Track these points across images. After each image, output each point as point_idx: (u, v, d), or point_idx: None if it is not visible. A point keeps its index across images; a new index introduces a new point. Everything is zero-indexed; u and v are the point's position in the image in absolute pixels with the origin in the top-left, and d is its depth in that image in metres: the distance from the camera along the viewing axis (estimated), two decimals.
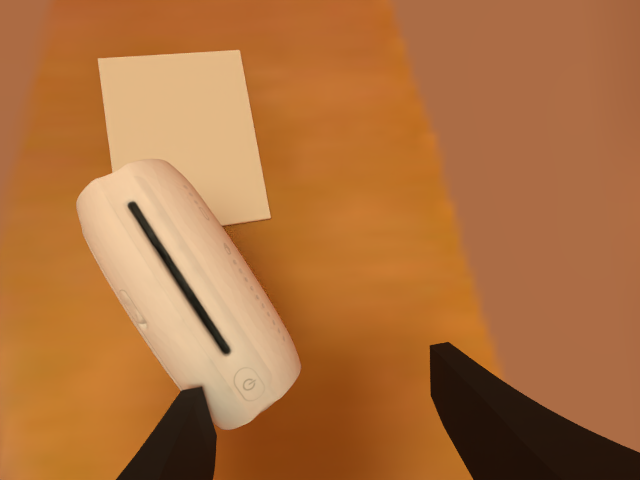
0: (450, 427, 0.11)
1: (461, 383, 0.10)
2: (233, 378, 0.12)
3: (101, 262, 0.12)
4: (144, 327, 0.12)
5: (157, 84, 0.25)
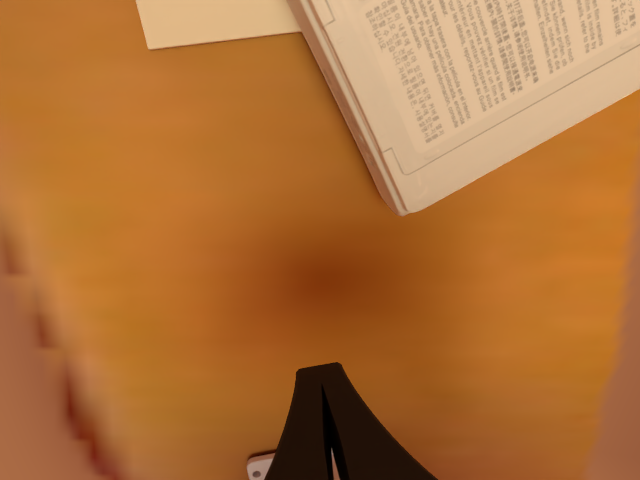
0: (333, 450, 0.11)
1: (329, 408, 0.10)
2: None
3: None
4: None
5: None
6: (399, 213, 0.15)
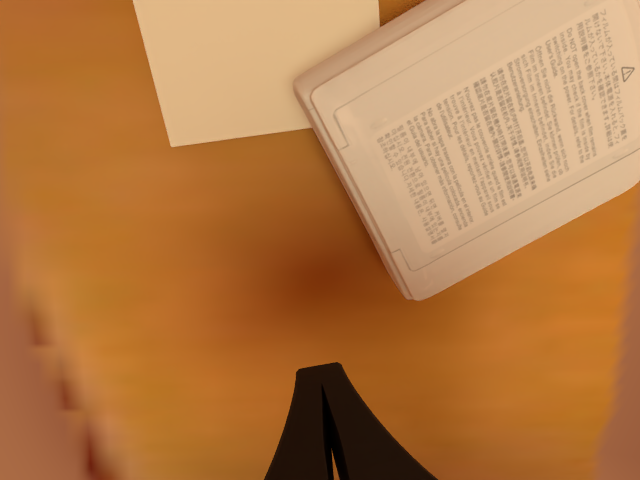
0: (333, 450, 0.11)
1: (329, 409, 0.10)
2: None
3: None
4: None
5: None
6: (406, 298, 0.16)
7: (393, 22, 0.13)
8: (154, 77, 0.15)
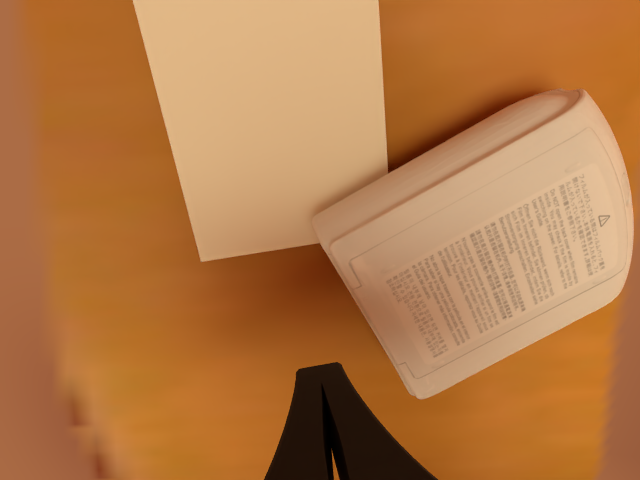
0: (333, 450, 0.11)
1: (329, 408, 0.10)
2: None
3: (612, 153, 0.14)
4: (625, 205, 0.15)
5: (228, 7, 0.14)
6: (410, 393, 0.18)
7: (400, 177, 0.15)
8: (188, 207, 0.17)
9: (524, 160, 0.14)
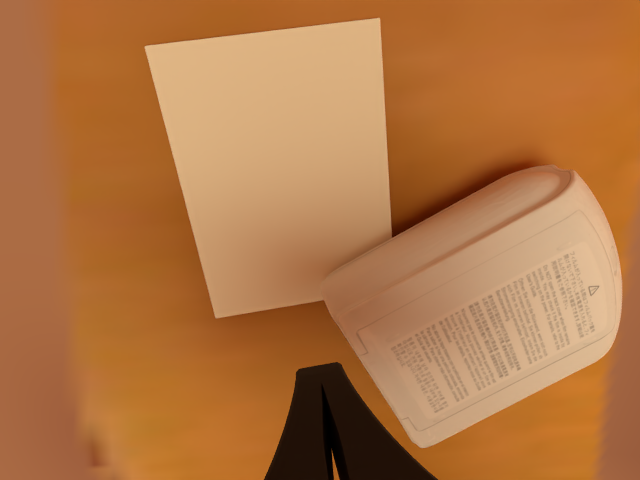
0: (333, 450, 0.11)
1: (329, 408, 0.10)
2: None
3: (600, 230, 0.15)
4: (614, 274, 0.16)
5: (244, 95, 0.15)
6: (412, 441, 0.19)
7: (404, 251, 0.16)
8: (204, 270, 0.18)
9: (519, 240, 0.15)
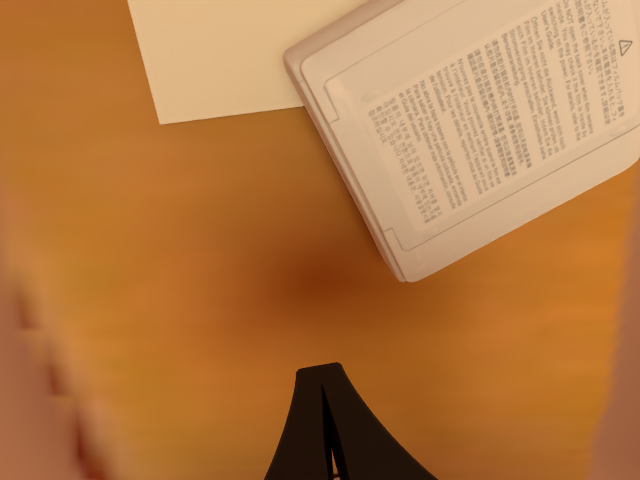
0: (333, 450, 0.11)
1: (329, 408, 0.10)
2: None
3: None
4: None
5: None
6: (399, 280, 0.16)
7: None
8: (142, 51, 0.14)
9: None
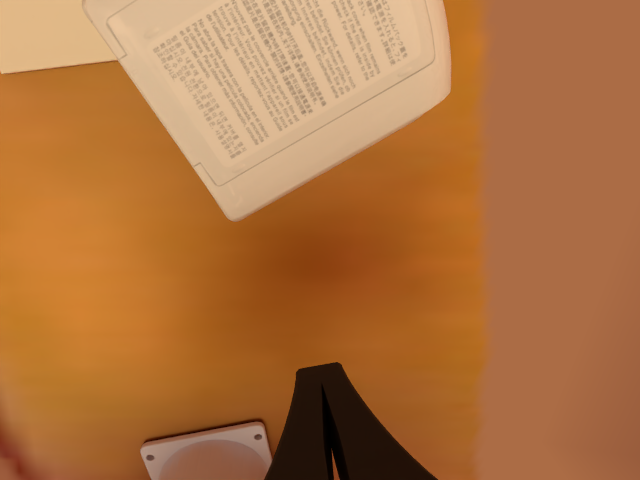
0: (333, 450, 0.11)
1: (329, 409, 0.10)
2: None
3: None
4: None
5: None
6: (229, 219, 0.17)
7: None
8: None
9: None
